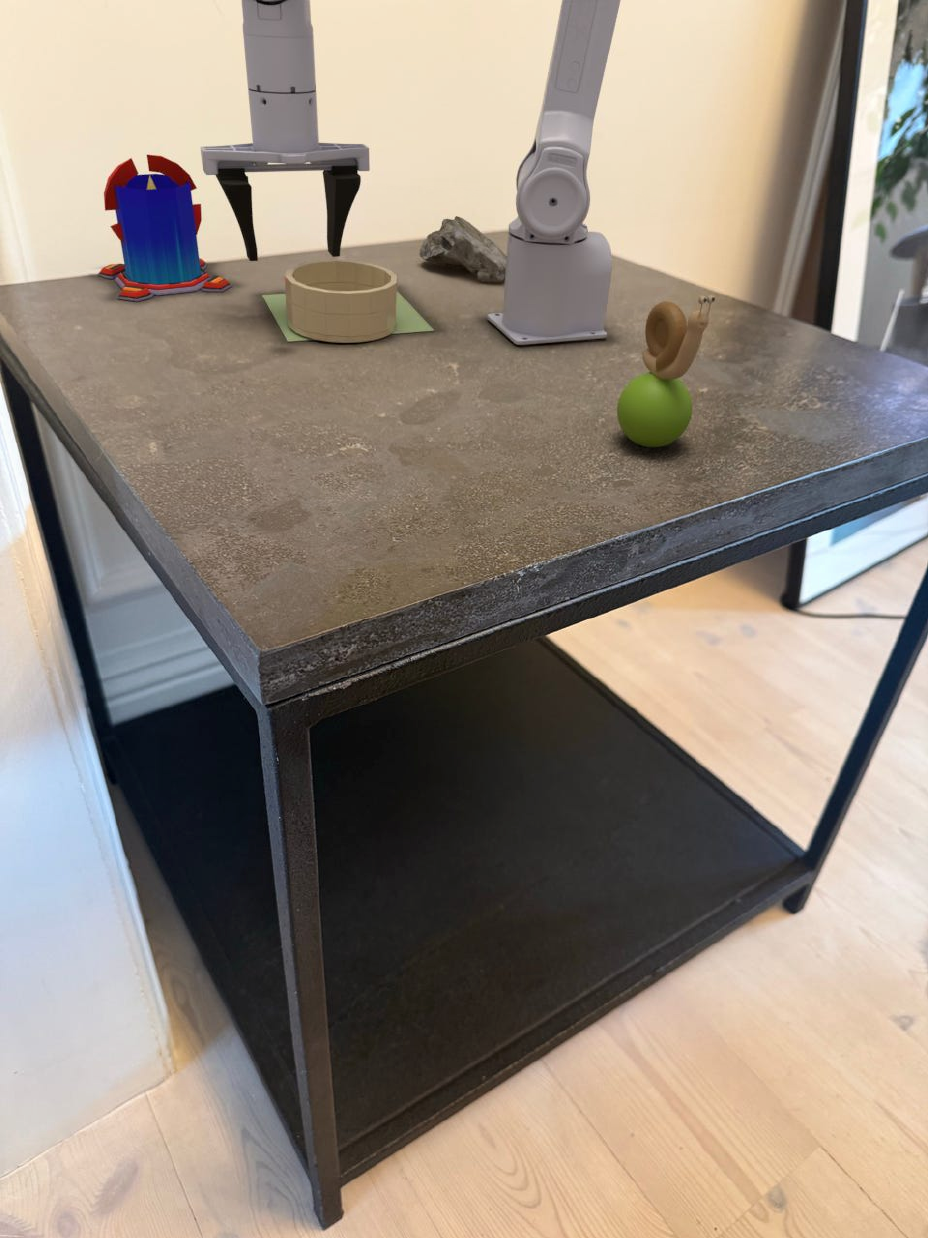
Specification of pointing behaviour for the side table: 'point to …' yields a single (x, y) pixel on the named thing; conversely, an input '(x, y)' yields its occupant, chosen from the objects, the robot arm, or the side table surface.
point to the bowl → (341, 300)
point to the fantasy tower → (156, 232)
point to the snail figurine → (663, 376)
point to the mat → (405, 323)
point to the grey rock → (465, 250)
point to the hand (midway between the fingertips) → (293, 255)
